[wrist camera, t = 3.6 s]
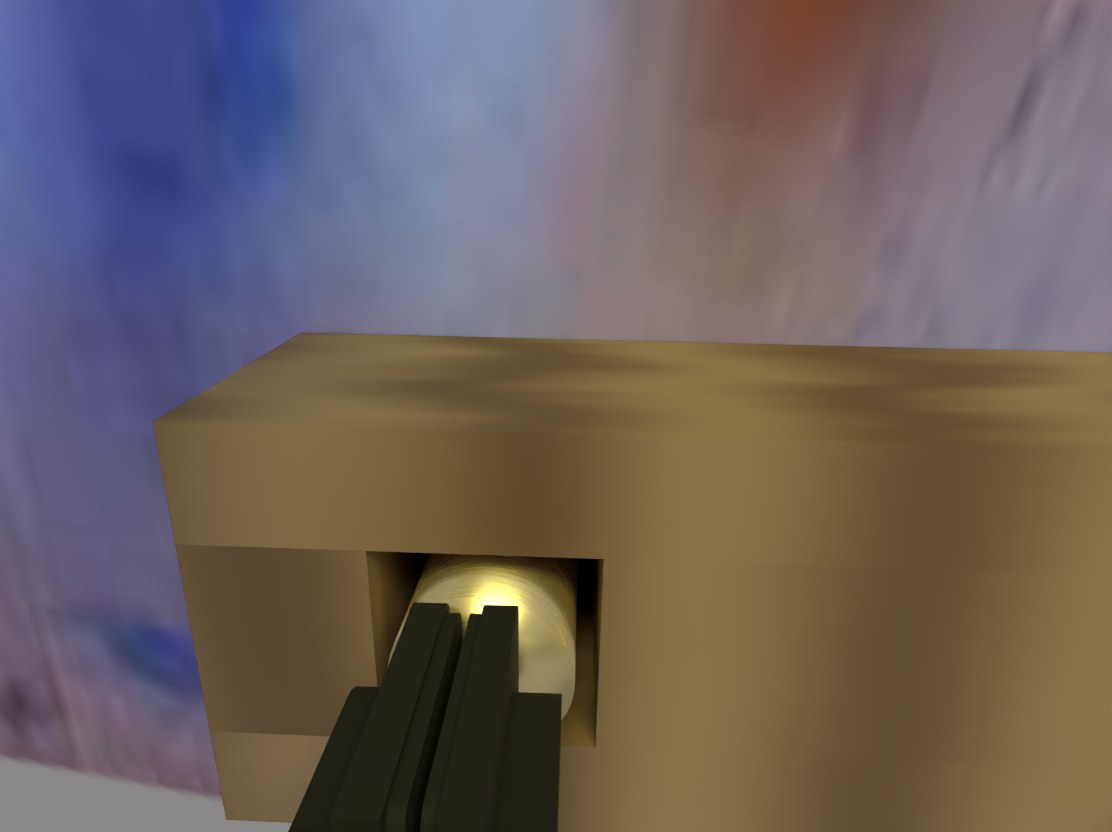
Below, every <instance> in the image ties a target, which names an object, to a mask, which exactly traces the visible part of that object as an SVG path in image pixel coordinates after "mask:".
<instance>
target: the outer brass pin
mask: <svg viewBox="0 0 1112 832" xmlns="http://www.w3.org/2000/svg"><path fill="white" fill-rule="evenodd" d="M577 561H578V558H558V557H529V556H500V555H471V554H442V553H430V554H429V557H428V559H427V562H426V564H425V567H424V569H423V572H422V574H421V577H420V579H419V582H418V584H417V587H416V589H415V592H414V594H413V597H412V599H411V602H410V605H409V607H408V610H407V612H406V615H405V617H404V620H403V622H402V625H401V627H400V630H399V632H398V635H397V637H396V640H395V642H394V645H393V647H392V650H391V653H390V656H389V662H388V665H389V663H390V660H391V658H392V655H393V652H394V650H395V647H396V645H397V642H398V639H399V637H400V634H401V631H402V629H403V626H404V624H405V621H406V618H407V616H408V613H409V611H410V608H411V606H412V604H413V603H414V602H423V603H448V605H449V608H450V613H460V614H461V617H462V641H463V639H464V635H465V631H466V627H467V623H468V619H469V616H470V614H471V613H473V614H482V610H483V606H484V605H512V606H518V610H519V692H528V693H556V694H562V710H561V721H562V719H563V718H564V716H565V715H566V713H567V712H568V709H569V707H570V705H571V703H572V699H573V695H574V689H575V663H576V612H577Z"/></svg>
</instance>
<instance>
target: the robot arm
mask: <svg viewBox="0 0 1112 832" xmlns="http://www.w3.org/2000/svg"><path fill="white" fill-rule="evenodd" d="M561 710H562V694H556V693H528V692H519V610H518V606H512V605H484V606H483V610H482V614H473V613H471V614H470V616H469V619H468V623H467V627H466V631H465V635H464V639H463V641H462V617H461V614H460V613H450V608H449V605H448V603H423V602H414V603H413V604H412V606H411V608H410V611H409V613H408V616H407V618H406V621H405V624H404V626H403V629H402V631H401V634H400V637H399V639H398V642H397V645H396V647H395V650H394V652H393V655H392V658H391V660H390V663H389V665H388V668H387V671H386V673H385V676H384V678H383V681H382V684H381V686H380V687H365V686H355V687H354V688H353V689H352V690H351V691H350V693H349V695H348V697H347V699H346V701H345V704H344V706H343V708H342V710H341V713H340V715H339V717H338V720H337V722H336V724H335V726H334V729H333V731H332V733H331V736H330V738H329V740H328V742H327V745H326V747H325V749H324V751H323V754H322V756H321V758H320V761H319V763H318V765H317V767H316V770H315V772H314V774H313V777H312V779H311V781H310V783H309V786H308V788H307V790H306V793H305V795H304V797H303V799H302V802H301V804H300V806H299V809H298V811H297V813H296V815H295V818H294V820H293V822H292V825H291V827H290V829H289V831H288V832H558V813H559V784H560V751H561Z"/></svg>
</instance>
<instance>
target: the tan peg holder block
mask: <svg viewBox="0 0 1112 832" xmlns="http://www.w3.org/2000/svg"><path fill="white" fill-rule="evenodd" d="M153 426H154V432H155V437H156V443H157V448H158V453H159V459H160V464H161V470H162V475H163V480H164V486H165V491H166V497H167V502H168V508H169V513H170V518H171V524H172V529H173V535H174V540H175V545H176V551H177V556H178V562H179V567H180V572H181V578H182V583H183V589H184V594H185V599H186V605H187V610H188V616H189V621H190V626H191V632H192V637H193V643H194V648H195V653H196V659H197V664H198V670H199V675H200V681H201V686H202V691H203V697H204V702H205V708H206V713H207V718H208V724H209V729H210V735H211V740H212V745H213V751H214V756H215V762H216V767H217V772H218V778H219V783H220V789H221V794H222V799H223V805H224V810H225V816H226V819H227V820H247V821H267V822H289V823H292V822H293V820H294V818H295V815H296V813H297V811H298V809H299V806H300V804H301V802H302V799H303V797H304V795H305V793H306V790H307V788H308V786H309V783H310V781H311V779H312V777H313V774H314V772H315V770H316V767H317V765H318V763H319V761H320V758H321V756H322V754H323V751H324V749H325V747H326V745H327V742H328V740H329V738H330V736H331V733H332V731H333V729H334V726H335V724H336V722H337V720H338V717H339V715H340V713H341V710H342V708H343V706H344V704H345V701H346V699H347V697H348V695H349V693H350V691H351V690H352V689H353V688H354V687H355V686H365V687H380V686H381V684H382V681H383V678H384V676H385V673H386V671H387V668H388V662H389V656H390V653H391V650H392V647H393V645H394V642H395V640H396V637H397V635H398V632H399V630H400V627H401V625H402V622H403V620H404V617H405V615H406V612H407V610H408V607H409V605H410V602H411V599H412V597H413V594H414V592H415V589H416V587H417V584H418V582H419V579H420V577H421V574H422V572H423V569H424V567H425V564H426V562H427V559H428V557H429V554H430V553H442V554H471V555H500V556H529V557H558V558H587V559H593V563H592V566H577V612H576V663H575V689H574V695H573V699H572V703H571V705H570V707H569V709H568V712H567V713H566V715H565V716H564V718H563V719H562V721H561V751H560V784H559V813H558V832H1112V353H1095V352H1055V351H1015V350H975V349H934V348H894V347H854V346H814V345H774V344H733V343H693V342H653V341H613V340H572V339H532V338H492V337H452V336H412V335H371V334H331V333H300V334H298V335H297V336H295V337H293V338H292V339H290V340H288V341H287V342H285V343H283V344H282V345H280V346H278V347H277V348H275V349H273V350H272V351H270V352H268V353H267V354H265V355H263V356H262V357H260V358H258V359H257V360H255V361H253V362H252V363H250V364H248V365H247V366H245V367H243V368H242V369H240V370H238V371H237V372H235V373H233V374H232V375H230V376H228V377H227V378H225V379H223V380H222V381H220V382H218V383H217V384H215V385H213V386H212V387H210V388H208V389H207V390H205V391H203V392H202V393H200V394H198V395H197V396H195V397H193V398H192V399H190V400H188V401H187V402H185V403H183V404H182V405H180V406H179V407H177V408H175V409H174V410H172V411H170V412H169V413H167V414H165V415H164V416H162V417H160V418H159V419H157V420H155V421H154V422H153Z"/></svg>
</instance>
